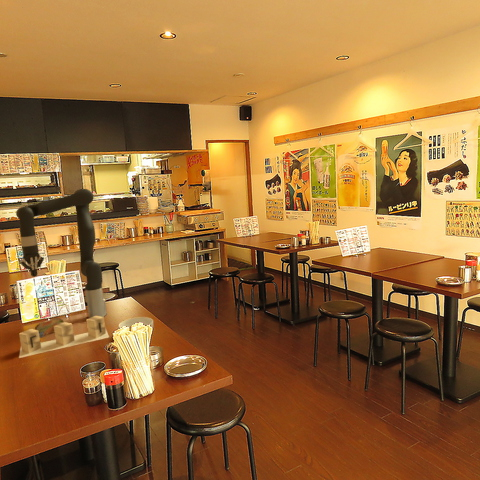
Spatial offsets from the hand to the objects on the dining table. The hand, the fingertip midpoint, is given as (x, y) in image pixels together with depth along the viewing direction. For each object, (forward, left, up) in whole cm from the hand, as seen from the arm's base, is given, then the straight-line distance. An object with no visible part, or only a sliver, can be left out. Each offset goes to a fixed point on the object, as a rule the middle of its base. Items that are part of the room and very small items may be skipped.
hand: (34, 276), depth 210 cm
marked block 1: (-7, +37, -30) cm, 48 cm away
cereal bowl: (-16, +56, -31) cm, 66 cm away
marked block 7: (+19, +21, -30) cm, 41 cm away
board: (+6, +29, -31) cm, 43 cm away
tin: (+2, +10, -31) cm, 33 cm away
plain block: (+6, +29, -30) cm, 42 cm away
